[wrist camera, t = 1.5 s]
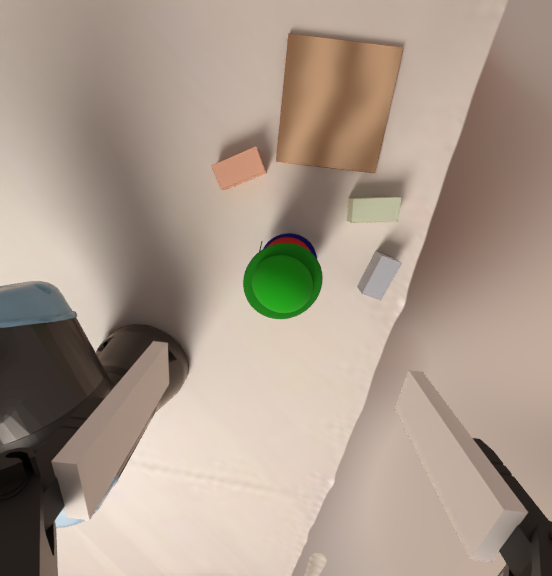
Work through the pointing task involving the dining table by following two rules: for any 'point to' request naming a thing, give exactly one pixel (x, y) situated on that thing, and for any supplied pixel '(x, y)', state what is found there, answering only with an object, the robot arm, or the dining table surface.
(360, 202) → the sage brick
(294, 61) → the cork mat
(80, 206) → the dining table surface
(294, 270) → the toy
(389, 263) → the slate brick
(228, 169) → the terracotta brick
